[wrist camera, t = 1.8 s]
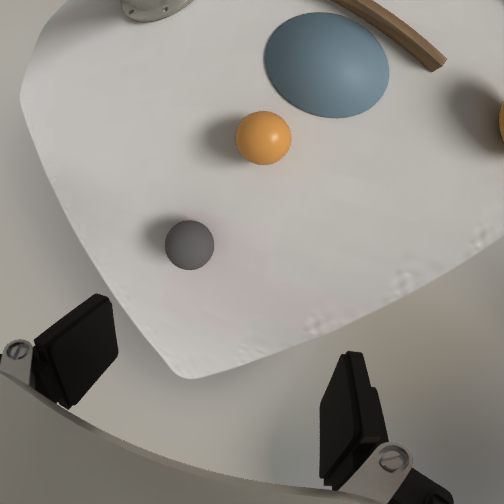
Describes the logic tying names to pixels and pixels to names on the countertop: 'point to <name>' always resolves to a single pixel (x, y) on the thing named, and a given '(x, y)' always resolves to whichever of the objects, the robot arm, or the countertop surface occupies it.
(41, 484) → the robot arm
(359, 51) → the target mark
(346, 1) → the bar
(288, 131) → the object ball
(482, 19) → the countertop surface
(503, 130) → the stress ball
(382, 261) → the countertop surface
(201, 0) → the countertop surface
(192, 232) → the dark gray ball
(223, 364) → the countertop surface
